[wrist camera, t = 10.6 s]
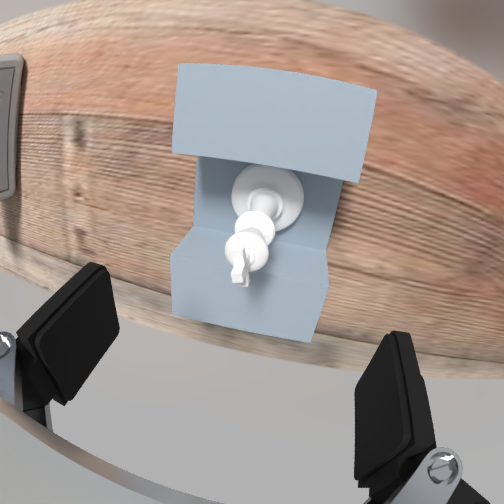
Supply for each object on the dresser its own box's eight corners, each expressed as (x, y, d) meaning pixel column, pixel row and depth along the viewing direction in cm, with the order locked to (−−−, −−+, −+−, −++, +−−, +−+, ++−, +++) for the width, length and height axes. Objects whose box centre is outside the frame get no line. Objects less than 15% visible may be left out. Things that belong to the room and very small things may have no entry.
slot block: (357, 88, 17) (378, 85, 12) (310, 295, 26) (308, 345, 21) (212, 67, 18) (179, 58, 13) (197, 272, 27) (172, 316, 21)
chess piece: (237, 230, 22) (193, 322, 14) (227, 164, 20) (165, 224, 11) (305, 227, 21) (302, 325, 13) (301, 158, 19) (296, 216, 10)
